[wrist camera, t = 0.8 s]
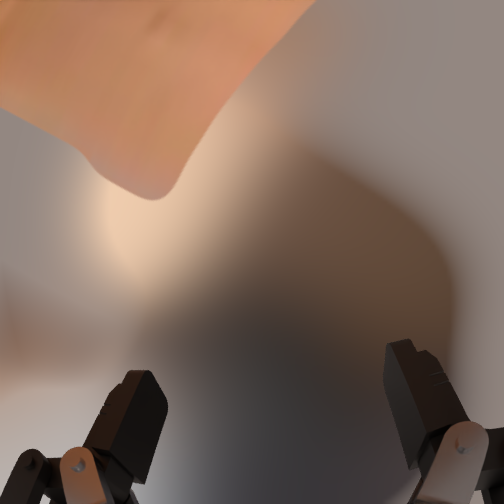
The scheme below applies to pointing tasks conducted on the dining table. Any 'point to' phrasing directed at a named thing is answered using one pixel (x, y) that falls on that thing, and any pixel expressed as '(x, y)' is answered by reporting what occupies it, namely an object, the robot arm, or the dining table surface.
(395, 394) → the robot arm
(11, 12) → the dining table surface
